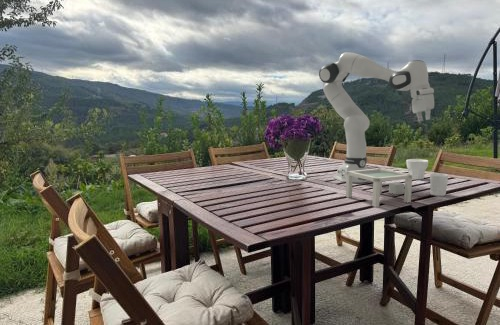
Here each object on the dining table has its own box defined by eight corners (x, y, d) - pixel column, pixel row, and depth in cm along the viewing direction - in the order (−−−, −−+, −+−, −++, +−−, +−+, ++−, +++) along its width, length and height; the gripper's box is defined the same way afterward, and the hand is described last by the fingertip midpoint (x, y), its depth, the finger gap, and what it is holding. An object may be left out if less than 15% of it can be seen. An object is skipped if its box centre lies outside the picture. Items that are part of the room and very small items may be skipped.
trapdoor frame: (345, 196, 182) (346, 171, 180) (378, 193, 190) (379, 168, 188) (375, 207, 163) (376, 178, 161) (410, 202, 170) (412, 175, 169)
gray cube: (388, 192, 191) (389, 183, 190) (396, 191, 193) (396, 182, 192) (396, 194, 186) (396, 184, 185) (403, 193, 188) (404, 183, 187)
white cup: (439, 197, 180) (441, 176, 179) (425, 193, 187) (426, 174, 186) (450, 195, 184) (451, 175, 182) (436, 192, 191) (437, 172, 189)
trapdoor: (356, 179, 179) (356, 172, 178) (379, 177, 184) (379, 170, 184) (376, 184, 166) (376, 177, 166) (400, 182, 171) (401, 175, 171)
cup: (428, 177, 230) (429, 159, 228) (425, 180, 220) (427, 162, 218) (407, 175, 237) (408, 158, 235) (403, 179, 226) (404, 160, 225)
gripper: (407, 96, 196) (410, 123, 197) (421, 90, 176) (425, 119, 176) (419, 94, 196) (423, 121, 196) (435, 88, 175) (439, 117, 176)
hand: (424, 120), depth 186 cm, fingers open, 8 cm apart
